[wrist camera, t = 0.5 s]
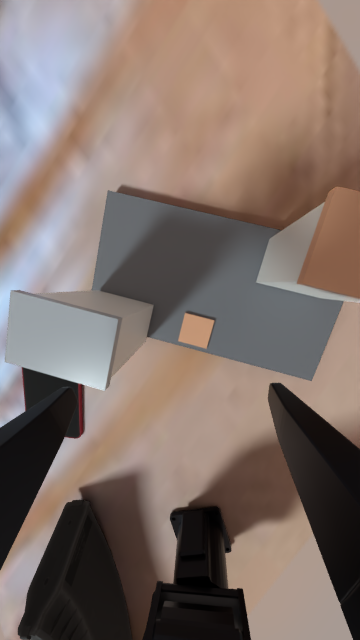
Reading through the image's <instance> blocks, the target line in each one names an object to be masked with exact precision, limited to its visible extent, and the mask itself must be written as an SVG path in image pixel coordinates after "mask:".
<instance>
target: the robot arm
mask: <svg viewBox="0 0 360 640" xmlns="http://www.w3.org/2000/svg"><path fill="white" fill-rule="evenodd" d="M77 402H78V400H77V397H76V395H75V393H74V390H73V388H71V387H62V388H60V389H59V390H57V391H56V392H54V393H53V394H51V395H50V396H48V397H46V398H45V399H43V400H42V401H40V402H39V403H37V404H36V405H34V406H33V407H31V408H30V409H28V410H27V411H25V412H24V413H22V414H21V415H19V416H18V417H16V418H15V419H13V420H11V421H10V422H8V423H7V424H5V425H4V426H2V427H1V428H0V570H1V568H2V566H3V564H4V562H5V560H6V558H7V555H8V553H9V551H10V549H11V547H12V545H13V543H14V541H15V539H16V537H17V535H18V533H19V531H20V529H21V527H22V524H23V522H24V520H25V518H26V516H27V514H28V512H29V510H30V508H31V506H32V504H33V502H34V500H35V498H36V496H37V493H38V491H39V489H40V487H41V485H42V483H43V481H44V479H45V477H46V475H47V473H48V471H49V469H50V467H51V465H52V462H53V460H54V458H55V456H56V454H57V452H58V450H59V448H60V446H61V444H62V442H63V440H64V437H65V435H66V433H67V430H68V427H69V425H70V422H71V419H72V417H73V414H74V411H75V409H76V406H77ZM268 402H269V406H270V410H271V414H272V418H273V422H274V426H275V429H276V433H277V437H278V440H279V443H280V446H281V449H282V451H283V454H284V457H285V459H286V462H287V465H288V467H289V470H290V472H291V475H292V478H293V480H294V483H295V486H296V488H297V491H298V494H299V496H300V499H301V502H302V504H303V507H304V510H305V512H306V515H307V518H308V520H309V523H310V526H311V528H312V531H313V534H314V536H315V539H316V542H317V544H318V547H319V550H320V552H321V555H322V558H323V560H324V563H325V566H326V568H327V571H328V574H329V576H330V579H331V581H332V584H333V587H334V590H335V592H336V595H337V597H338V600H339V602H340V603H341V609H342V611H343V613H344V616H345V619H346V622H347V624H348V627H349V630H350V632H351V635H352V638H353V640H360V449H359V448H358V447H357V446H355V445H354V444H353V443H352V442H351V441H349V440H348V439H347V438H346V437H345V436H343V435H342V434H341V433H340V432H339V431H338V430H336V429H335V428H334V427H333V426H332V425H330V424H329V423H328V422H327V421H326V420H324V419H323V418H322V417H321V416H320V415H318V414H317V413H316V412H315V411H314V410H312V409H311V408H310V407H309V406H308V405H306V404H305V403H304V402H303V401H302V400H300V399H299V398H298V397H297V396H296V395H294V394H293V393H292V392H291V391H290V390H288V389H287V388H286V387H285V386H284V385H282V384H281V383H271V384H270V386H269V393H268ZM170 521H171V524H172V526H173V529H174V532H175V535H176V538H177V549H176V560H175V570H174V581H173V584H170V583H163V581H157V586H156V590H155V592H154V594H153V596H152V602H151V608H150V612H149V617H148V621H147V626H146V630H145V633H144V636H143V639H142V640H251V638H250V631H249V625H248V619H247V612H246V606H245V600H244V594H243V589H241V588H237V589H228V580H227V569H226V558H225V553H229V552H231V544H230V540H229V537H228V534H227V530H226V527H225V524H224V521H223V517H222V514H221V511H220V508H218V507H210V508H202V509H195V510H187V511H179V512H172V513H171V514H170Z"/></svg>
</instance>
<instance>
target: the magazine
mask: <svg viewBox="0 0 360 640" xmlns="http://www.w3.org/2000/svg"><path fill="white" fill-rule="evenodd" d="M18 635H19V636H20V639H22V640H132V636H131V630H130V624H129V618H128V612H127V607H126V602H125V598H124V594H123V590H122V586H121V582H120V579H119V575H118V572H117V569H116V566H115V563H114V560H113V557H112V554H111V552H110V549H109V547H108V544H107V542H106V539H105V537H104V535H103V533H102V531H101V529H100V527H99V525H98V523H97V521H96V518H95V516H94V514H93V512H92V510H91V508H90V502H89V501H84V500H73V501H72V502H68V503H67V504H66V505H65V507H64V509H63V511H62V514H61V516H60V518H59V521H58V523H57V525H56V527H55V530H54V532H53V534H52V537H51V539H50V541H49V543H48V546H47V548H46V550H45V553H44V555H43V557H42V559H41V562H40V564H39V566H38V568H37V571H36V573H35V575H34V578H33V580H32V582H31V584H30V587H29V590H28V593H27V599H26V607H25V613H24V615H23V617H22V620H21V622H20V625H19V627H18Z"/></svg>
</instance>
